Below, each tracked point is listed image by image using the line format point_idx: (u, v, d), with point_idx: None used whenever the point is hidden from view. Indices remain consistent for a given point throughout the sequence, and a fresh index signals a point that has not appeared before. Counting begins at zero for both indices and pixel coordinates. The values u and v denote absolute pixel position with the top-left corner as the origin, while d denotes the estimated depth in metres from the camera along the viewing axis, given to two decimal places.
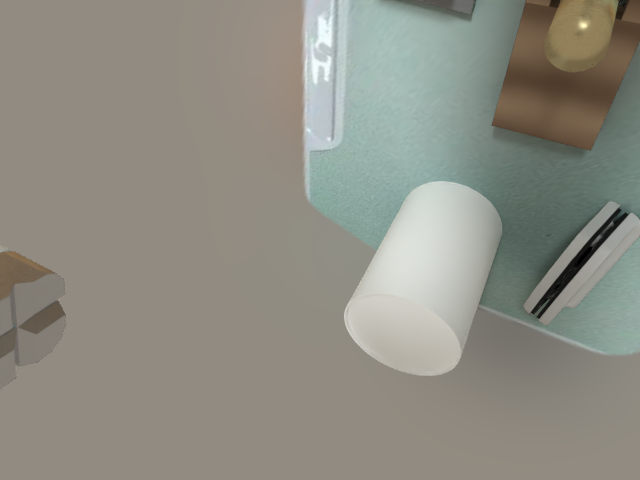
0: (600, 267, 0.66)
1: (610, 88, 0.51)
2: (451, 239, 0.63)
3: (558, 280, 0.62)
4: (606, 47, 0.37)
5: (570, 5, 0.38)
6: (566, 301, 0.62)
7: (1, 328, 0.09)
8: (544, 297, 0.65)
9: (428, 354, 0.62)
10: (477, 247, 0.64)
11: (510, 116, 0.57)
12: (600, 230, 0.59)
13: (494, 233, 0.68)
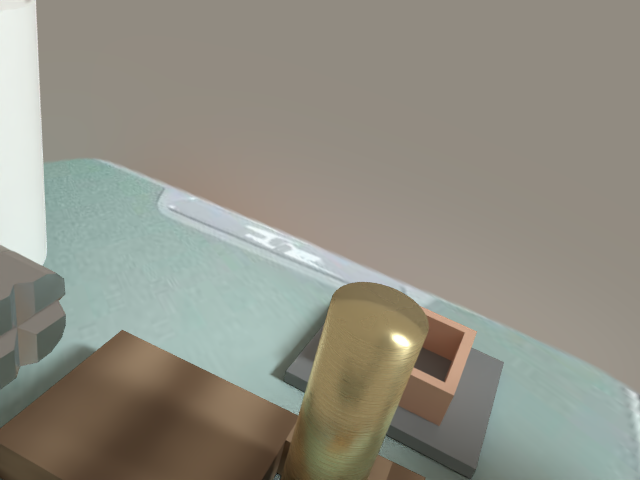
0: None
1: None
2: None
3: None
4: (370, 341, 0.20)
5: None
6: None
7: (1, 328, 0.09)
8: None
9: None
10: None
11: (127, 353, 0.35)
12: None
13: None
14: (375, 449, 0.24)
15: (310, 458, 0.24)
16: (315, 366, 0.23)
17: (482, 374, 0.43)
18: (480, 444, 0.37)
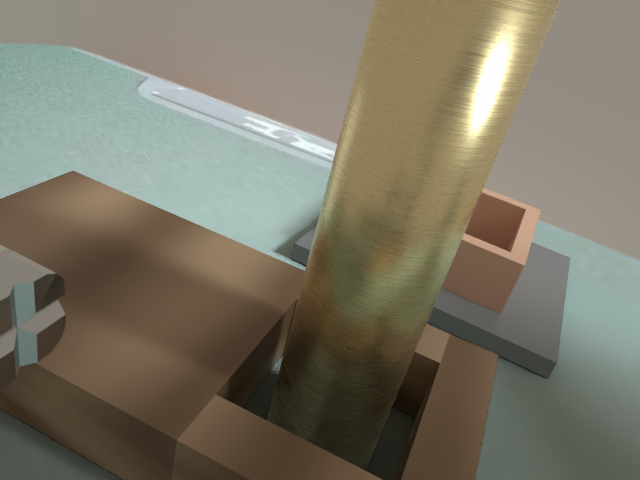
0: None
1: None
2: None
3: None
4: None
5: None
6: None
7: (1, 328, 0.09)
8: None
9: None
10: None
11: (75, 192, 0.25)
12: None
13: None
14: (454, 239, 0.14)
15: (343, 255, 0.14)
16: (358, 78, 0.13)
17: (546, 267, 0.34)
18: (557, 336, 0.27)
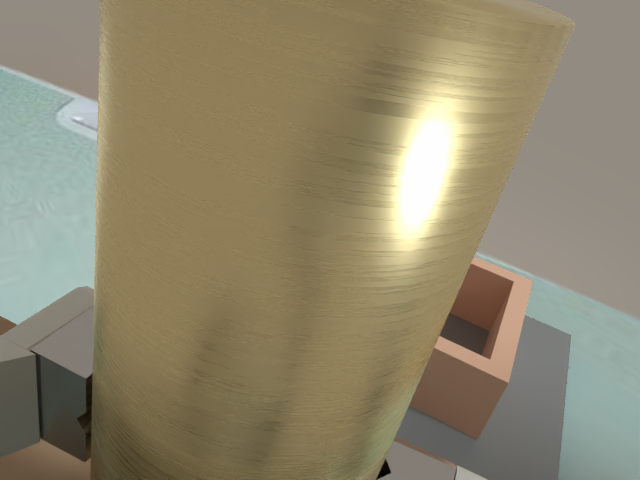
0: None
1: None
2: None
3: None
4: None
5: None
6: None
7: None
8: None
9: None
10: None
11: None
12: None
13: None
14: None
15: None
16: None
17: (540, 352, 0.26)
18: (554, 474, 0.20)
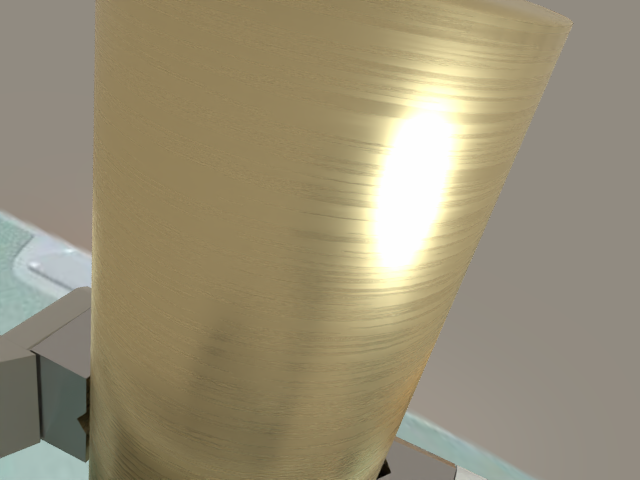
0: None
1: None
2: None
3: None
4: None
5: None
6: None
7: None
8: None
9: None
10: None
11: None
12: None
13: None
14: None
15: None
16: None
17: None
18: None
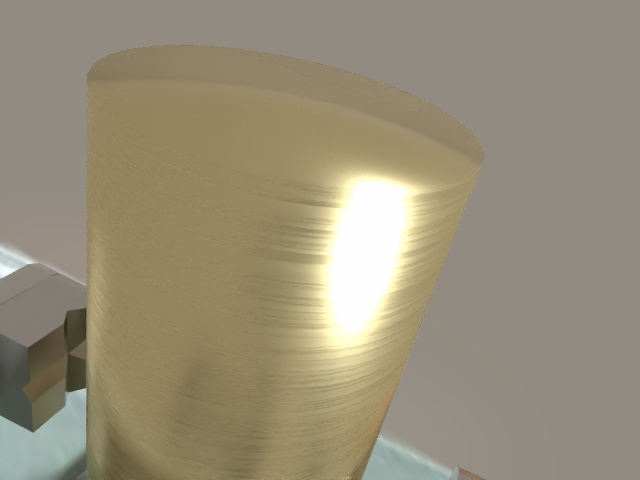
0: None
1: None
2: None
3: None
4: (216, 154, 0.04)
5: None
6: None
7: (54, 356, 0.08)
8: None
9: None
10: None
11: None
12: None
13: None
14: None
15: None
16: None
17: None
18: None
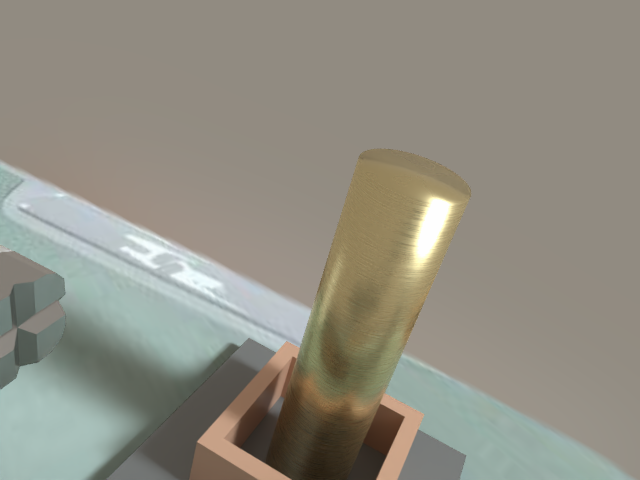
0: None
1: None
2: None
3: None
4: (407, 194, 0.17)
5: None
6: None
7: (1, 328, 0.09)
8: None
9: None
10: None
11: None
12: None
13: None
14: (400, 344, 0.21)
15: (324, 354, 0.21)
16: (336, 241, 0.20)
17: (431, 479, 0.28)
18: None
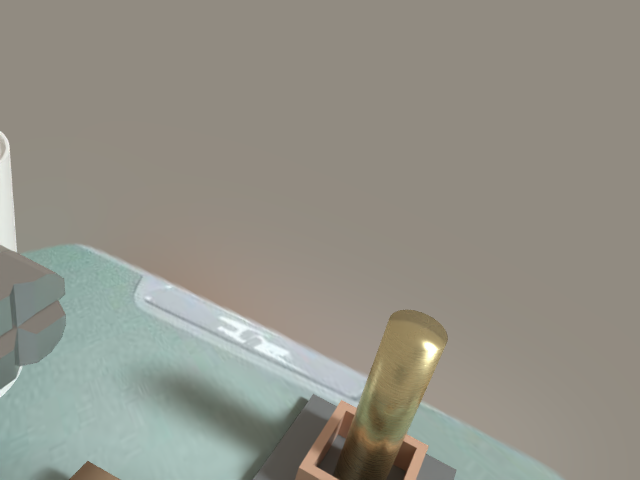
0: None
1: None
2: None
3: None
4: (414, 346, 0.35)
5: None
6: None
7: (1, 328, 0.09)
8: None
9: None
10: None
11: None
12: None
13: None
14: (413, 413, 0.39)
15: (371, 419, 0.39)
16: (377, 361, 0.38)
17: None
18: None
